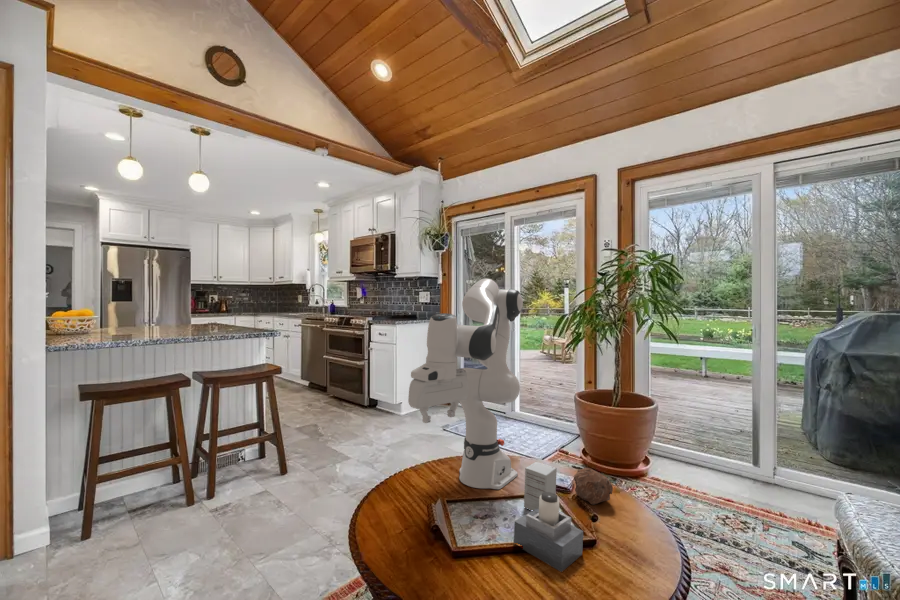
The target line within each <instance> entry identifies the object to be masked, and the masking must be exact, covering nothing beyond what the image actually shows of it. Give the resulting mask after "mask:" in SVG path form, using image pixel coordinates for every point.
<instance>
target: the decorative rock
mask: <svg viewBox="0 0 900 600" xmlns="http://www.w3.org/2000/svg"><path fill="white" fill-rule="evenodd" d="M573 481H574V483H575V489H574V492H575V494H576V495H577V496H578V497H580V498H581V499H582V500H584V501H587V502H588V503H590V505H598V504H599V503H602V502H609V501H610V499H611V495H612V494H613V490H614V488H613V487H614V486H613V484H612V483H611V481H610V480H609V479H608V477H607V476H606V475H604V474H602V473H600V472H598V471H597V470H595V469H593V468H590V467H584V468H582V469H577V472H576V473H575V474H574V476H573Z"/></svg>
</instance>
